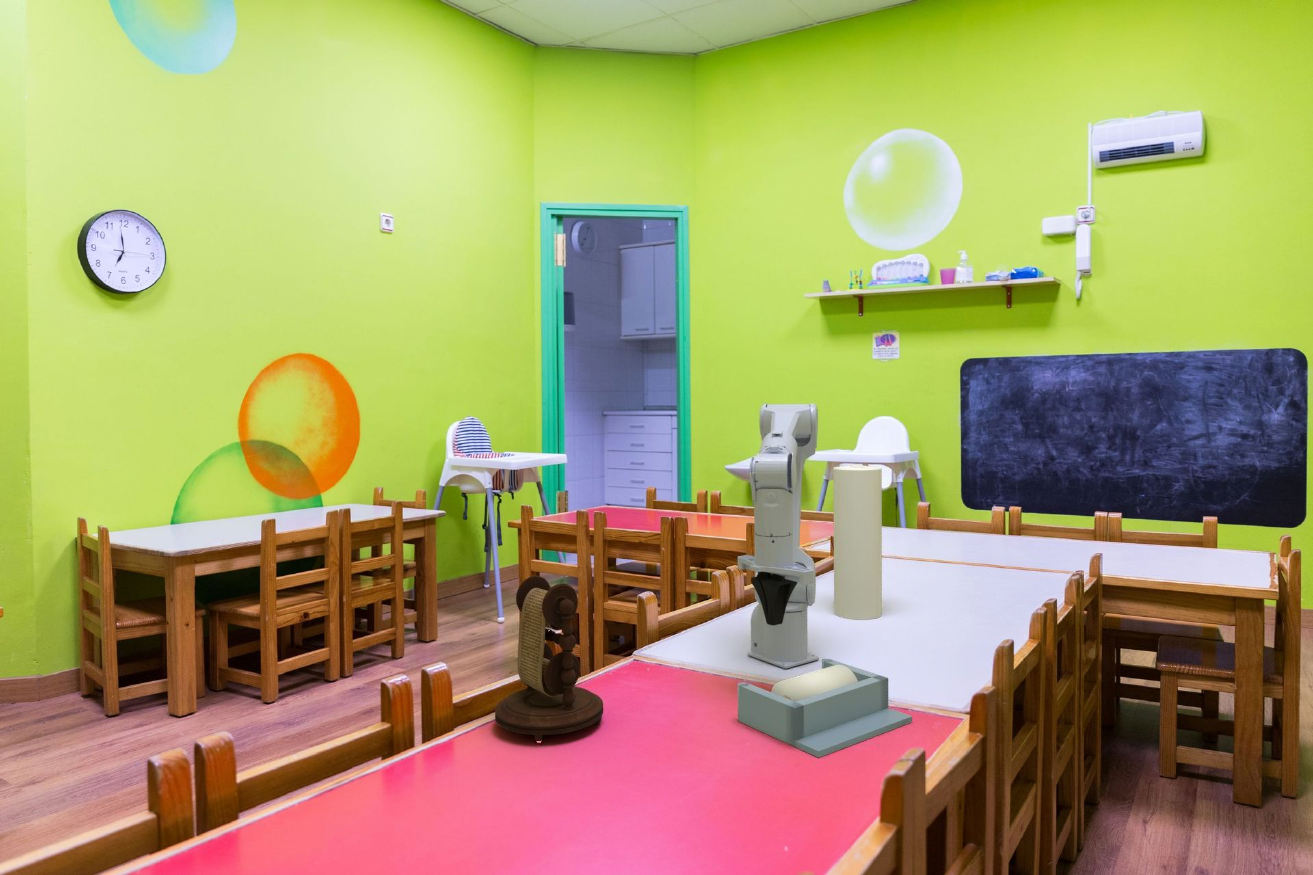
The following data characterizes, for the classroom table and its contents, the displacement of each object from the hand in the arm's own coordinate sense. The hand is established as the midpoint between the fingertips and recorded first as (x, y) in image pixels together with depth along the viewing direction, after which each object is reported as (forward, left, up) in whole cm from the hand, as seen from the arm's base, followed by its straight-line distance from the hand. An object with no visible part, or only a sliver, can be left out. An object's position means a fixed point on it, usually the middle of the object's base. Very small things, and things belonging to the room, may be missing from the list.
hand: (774, 623), depth 126 cm
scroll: (-10, -33, -11) cm, 36 cm away
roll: (+11, -3, -7) cm, 13 cm away
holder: (+12, -3, -10) cm, 16 cm away
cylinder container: (-22, +44, -11) cm, 51 cm away
